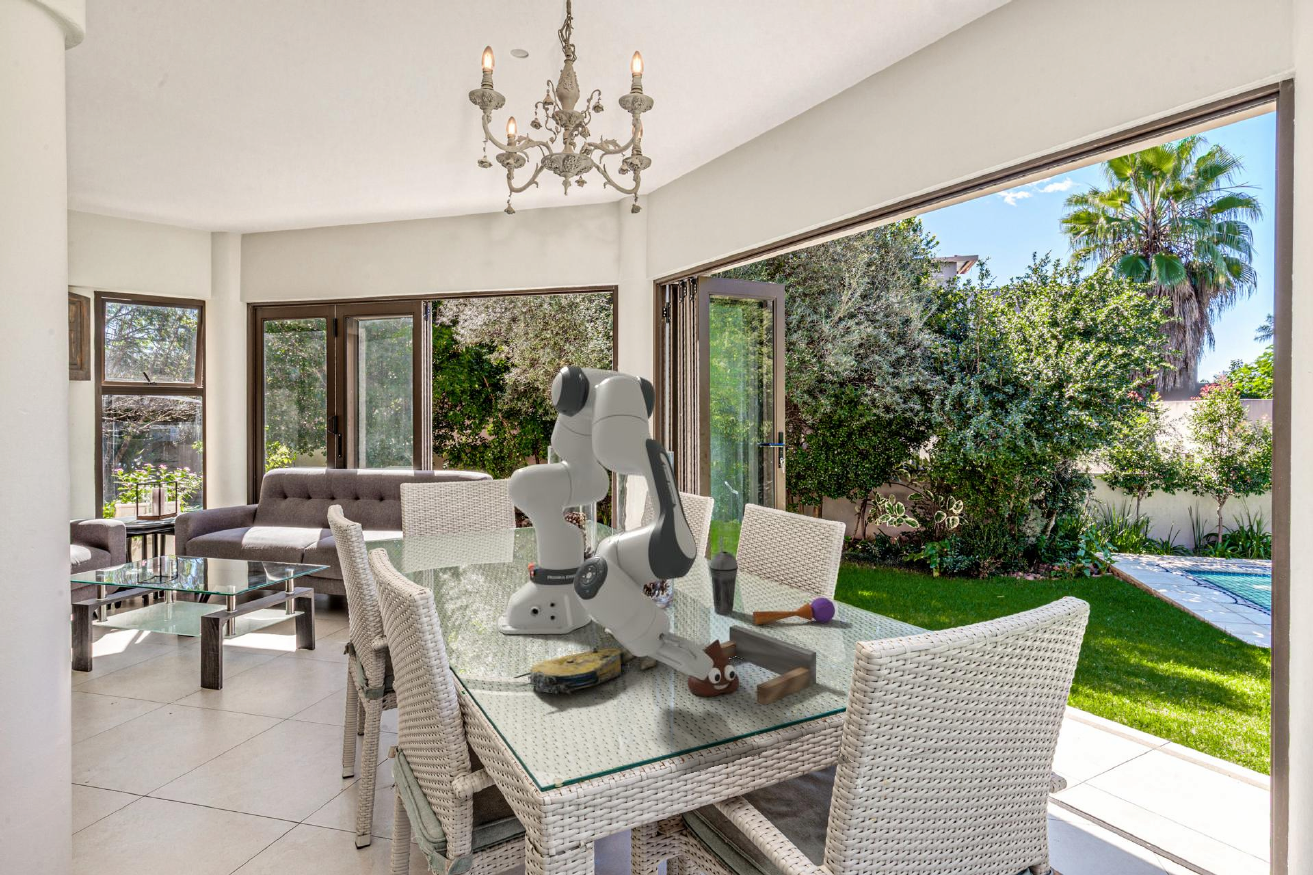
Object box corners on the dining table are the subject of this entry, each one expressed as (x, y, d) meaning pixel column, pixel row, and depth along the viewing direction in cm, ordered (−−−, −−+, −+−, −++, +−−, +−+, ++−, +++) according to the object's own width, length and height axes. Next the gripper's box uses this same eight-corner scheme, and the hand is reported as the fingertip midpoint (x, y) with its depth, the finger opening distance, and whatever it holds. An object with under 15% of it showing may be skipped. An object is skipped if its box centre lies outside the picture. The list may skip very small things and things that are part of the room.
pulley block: (677, 639, 138) (538, 674, 122) (680, 669, 138) (541, 707, 122) (640, 631, 150) (509, 661, 134) (643, 658, 150) (511, 691, 133)
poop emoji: (725, 676, 136) (725, 629, 136) (748, 693, 129) (748, 643, 128) (680, 684, 132) (680, 637, 132) (700, 702, 125) (700, 652, 124)
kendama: (750, 604, 170) (827, 594, 173) (753, 629, 170) (831, 619, 172) (756, 607, 164) (836, 597, 167) (759, 632, 164) (840, 622, 166)
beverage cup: (743, 612, 176) (744, 535, 174) (721, 618, 172) (721, 538, 170) (725, 605, 182) (725, 530, 180) (703, 610, 178) (703, 533, 176)
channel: (765, 705, 123) (765, 672, 123) (685, 669, 139) (685, 640, 139) (815, 682, 133) (816, 652, 132) (735, 652, 149) (735, 624, 148)
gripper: (695, 628, 111) (736, 671, 118) (618, 599, 127) (659, 639, 134) (674, 662, 109) (718, 704, 116) (598, 628, 124) (641, 668, 131)
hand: (685, 669), depth 125 cm, fingers closed
